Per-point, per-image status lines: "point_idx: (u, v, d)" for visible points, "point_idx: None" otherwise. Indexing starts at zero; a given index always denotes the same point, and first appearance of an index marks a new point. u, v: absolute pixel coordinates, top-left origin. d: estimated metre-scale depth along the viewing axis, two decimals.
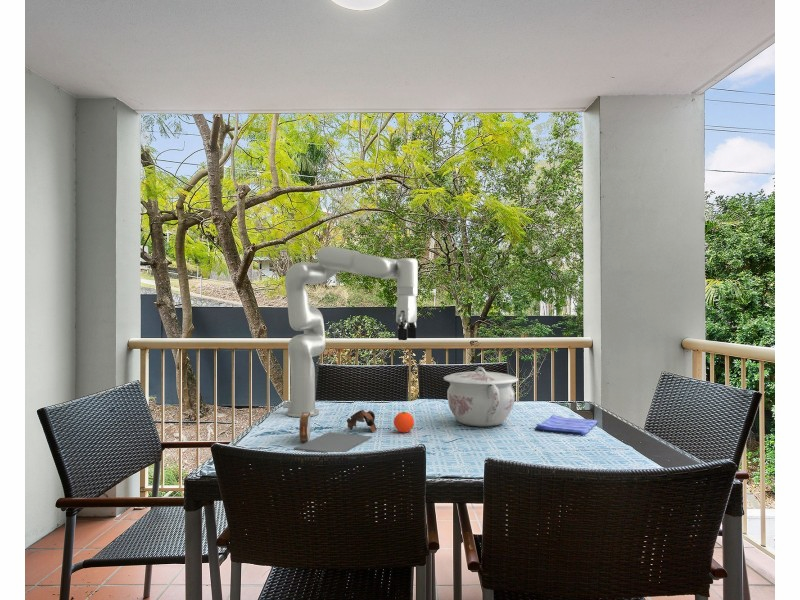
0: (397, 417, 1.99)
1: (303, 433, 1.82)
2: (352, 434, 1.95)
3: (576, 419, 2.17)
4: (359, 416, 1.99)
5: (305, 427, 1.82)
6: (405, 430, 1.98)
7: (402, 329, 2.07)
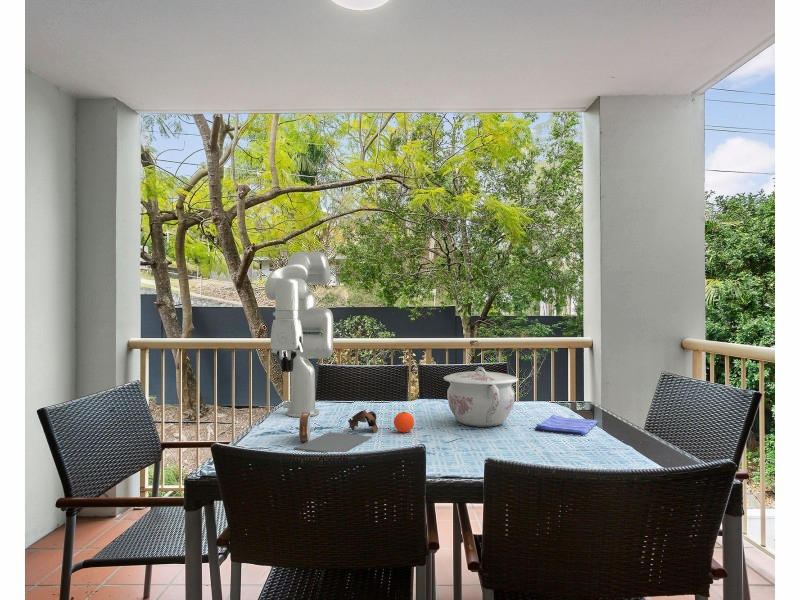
0: (397, 417, 1.99)
1: (303, 433, 1.82)
2: (352, 434, 1.95)
3: (576, 419, 2.17)
4: (361, 416, 1.99)
5: (305, 427, 1.82)
6: (405, 430, 1.98)
7: (292, 360, 1.92)
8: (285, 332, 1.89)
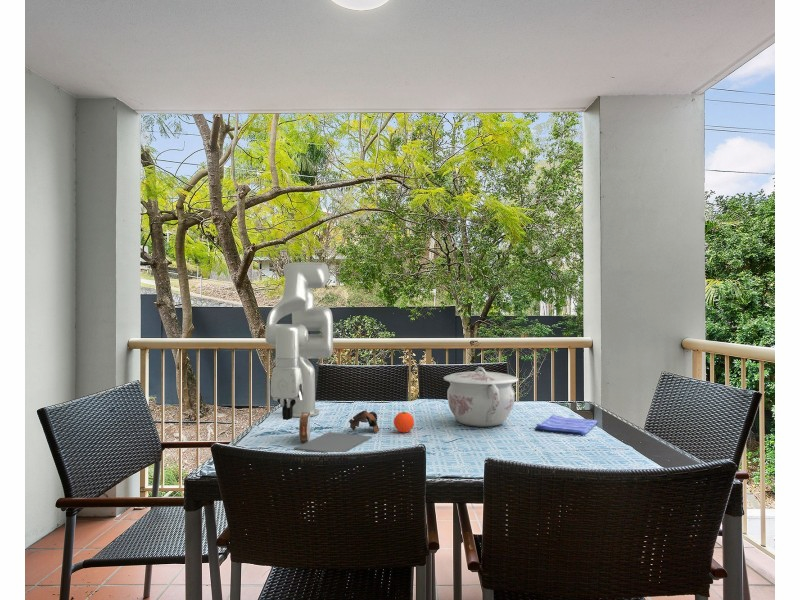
0: (397, 417, 1.99)
1: (303, 433, 1.82)
2: (352, 434, 1.95)
3: (576, 419, 2.17)
4: (362, 417, 1.98)
5: (305, 427, 1.82)
6: (405, 430, 1.98)
7: (291, 407, 1.92)
8: (285, 381, 1.89)
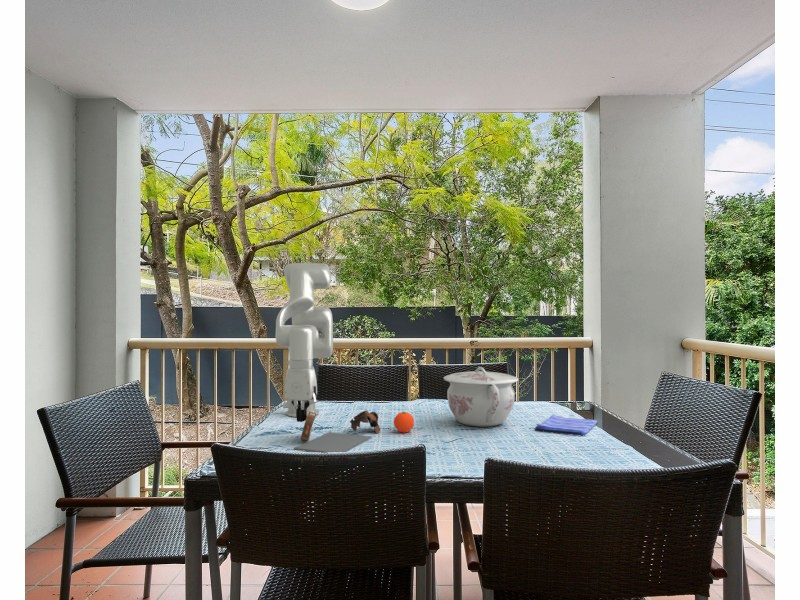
0: (397, 417, 1.99)
1: (306, 432, 1.82)
2: (352, 434, 1.95)
3: (576, 419, 2.17)
4: (363, 417, 1.98)
5: (309, 427, 1.83)
6: (405, 430, 1.98)
7: (306, 409, 1.90)
8: (299, 382, 1.87)
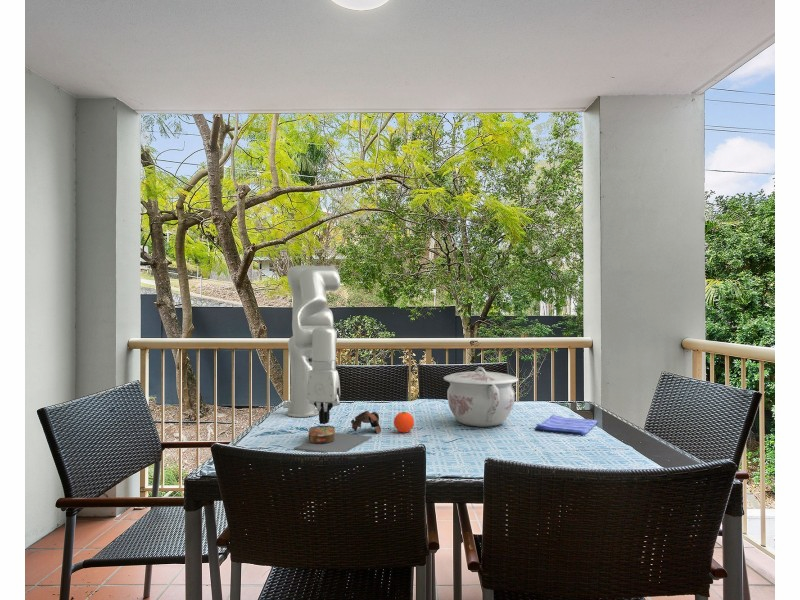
0: (397, 417, 1.99)
1: (318, 439, 1.83)
2: (352, 434, 1.95)
3: (576, 419, 2.17)
4: (364, 417, 1.98)
5: (324, 441, 1.83)
6: (405, 430, 1.98)
7: (328, 411, 1.86)
8: (322, 384, 1.84)
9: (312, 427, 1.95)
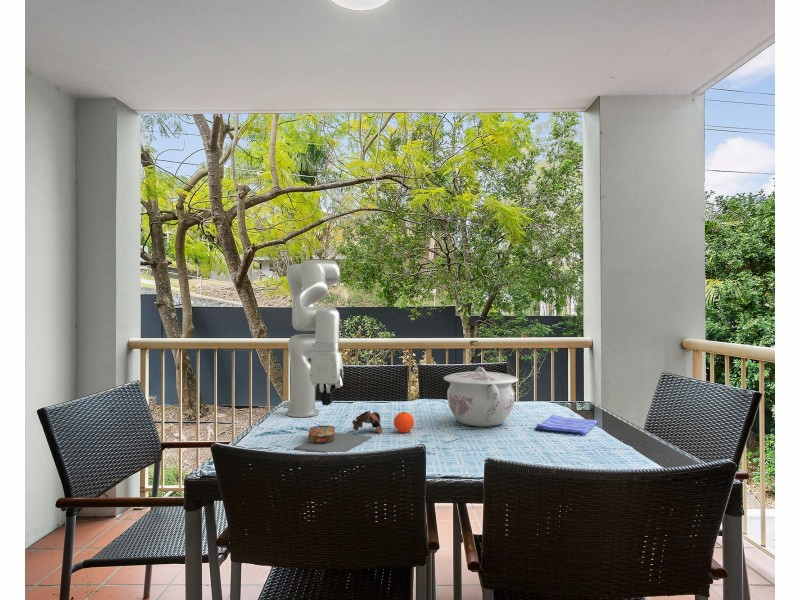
0: (397, 417, 1.99)
1: (318, 439, 1.83)
2: (352, 434, 1.95)
3: (576, 419, 2.17)
4: (365, 417, 1.97)
5: (324, 441, 1.83)
6: (405, 430, 1.98)
7: (331, 392, 1.87)
8: (326, 365, 1.83)
9: (312, 427, 1.95)
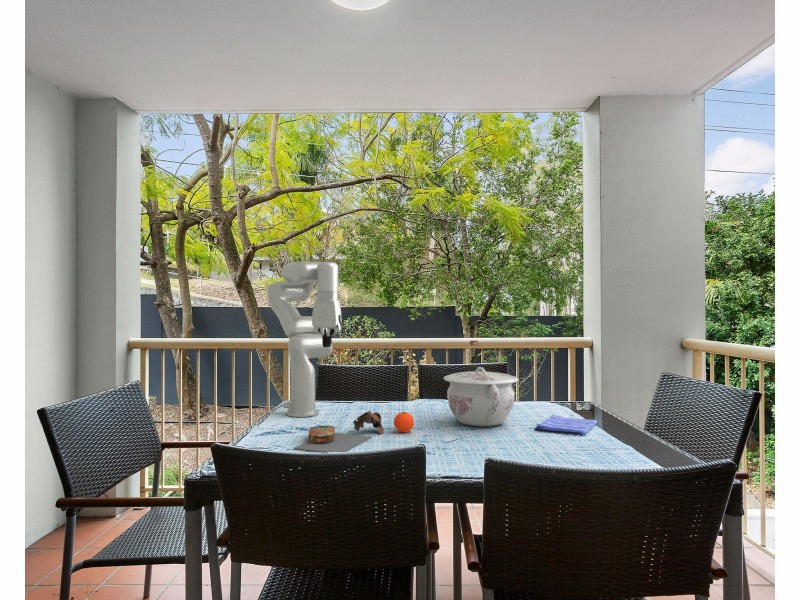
0: (397, 417, 1.99)
1: (318, 439, 1.83)
2: (352, 434, 1.95)
3: (576, 419, 2.17)
4: (366, 418, 1.97)
5: (324, 441, 1.83)
6: (405, 430, 1.98)
7: (331, 336, 2.11)
8: (326, 311, 2.08)
9: (312, 427, 1.95)
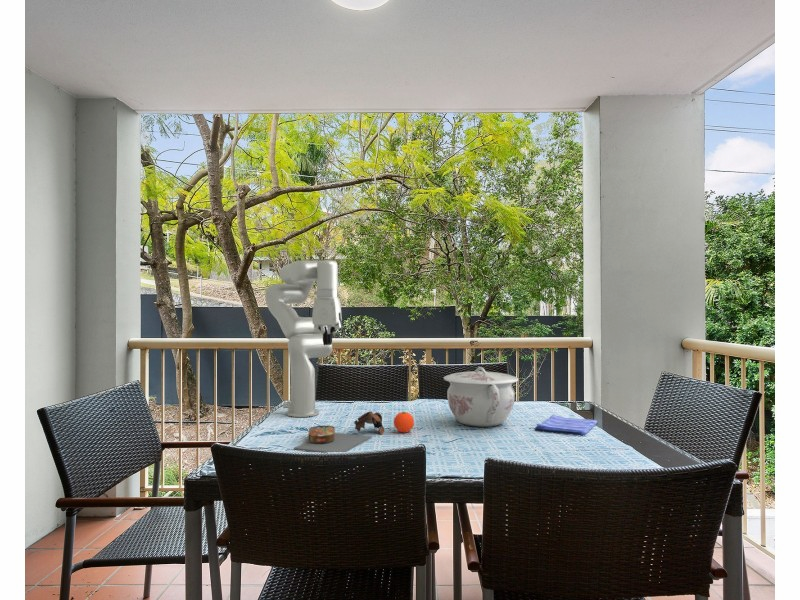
0: (397, 417, 1.99)
1: (318, 439, 1.83)
2: (352, 434, 1.95)
3: (576, 419, 2.17)
4: (367, 418, 1.96)
5: (324, 441, 1.83)
6: (405, 430, 1.98)
7: (331, 334, 2.12)
8: (326, 309, 2.09)
9: (312, 427, 1.95)
